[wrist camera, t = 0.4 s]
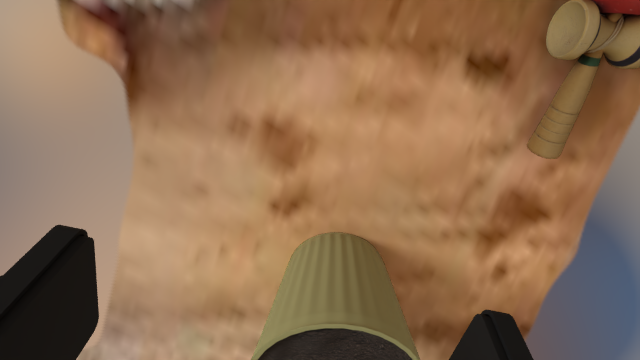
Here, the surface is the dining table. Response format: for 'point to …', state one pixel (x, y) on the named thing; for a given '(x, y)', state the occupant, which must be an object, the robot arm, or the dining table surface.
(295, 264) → the potted cactus
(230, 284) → the dining table surface
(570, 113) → the kendama
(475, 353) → the robot arm
